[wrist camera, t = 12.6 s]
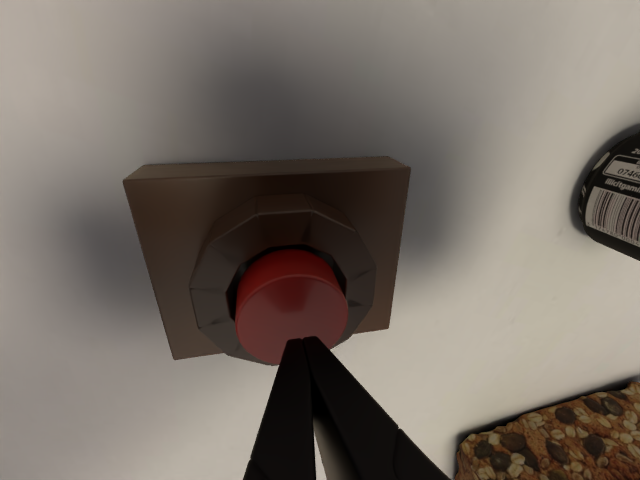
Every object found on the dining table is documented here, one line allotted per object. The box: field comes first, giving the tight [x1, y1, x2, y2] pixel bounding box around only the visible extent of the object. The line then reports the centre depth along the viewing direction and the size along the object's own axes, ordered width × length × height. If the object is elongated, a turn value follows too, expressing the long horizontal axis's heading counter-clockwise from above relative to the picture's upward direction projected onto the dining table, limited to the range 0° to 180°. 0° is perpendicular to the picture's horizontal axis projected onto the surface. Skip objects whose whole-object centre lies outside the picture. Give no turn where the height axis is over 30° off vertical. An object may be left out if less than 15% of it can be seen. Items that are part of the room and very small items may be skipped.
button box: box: [123, 156, 411, 366], centre depth 13 cm, size 10×8×4 cm
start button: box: [235, 249, 348, 364], centre depth 10 cm, size 4×4×2 cm
